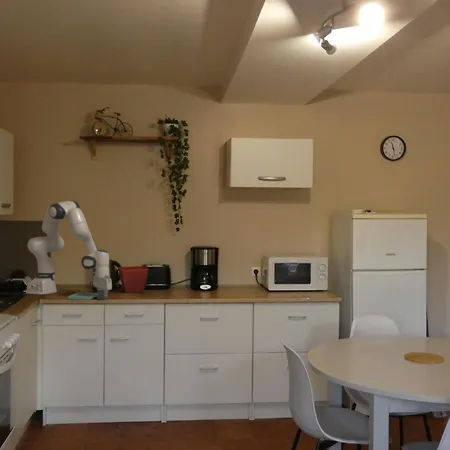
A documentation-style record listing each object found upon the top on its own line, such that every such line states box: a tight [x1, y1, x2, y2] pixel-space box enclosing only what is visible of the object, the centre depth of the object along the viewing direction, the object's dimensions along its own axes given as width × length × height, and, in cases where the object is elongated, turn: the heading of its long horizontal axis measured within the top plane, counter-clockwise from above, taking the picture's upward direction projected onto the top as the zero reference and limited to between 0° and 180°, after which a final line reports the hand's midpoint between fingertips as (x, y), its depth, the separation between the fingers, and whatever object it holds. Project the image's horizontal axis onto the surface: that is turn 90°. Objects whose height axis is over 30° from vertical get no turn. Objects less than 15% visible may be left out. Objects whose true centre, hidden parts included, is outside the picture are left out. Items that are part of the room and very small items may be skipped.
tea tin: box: [97, 288, 109, 301], centre depth 371 cm, size 5×5×7 cm
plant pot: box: [117, 265, 149, 294], centre depth 400 cm, size 19×19×17 cm
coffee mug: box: [89, 280, 98, 293], centre depth 391 cm, size 12×9×10 cm
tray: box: [67, 291, 98, 301], centre depth 374 cm, size 15×17×2 cm
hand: (102, 295), depth 371 cm, fingers closed on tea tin, 7 cm apart
